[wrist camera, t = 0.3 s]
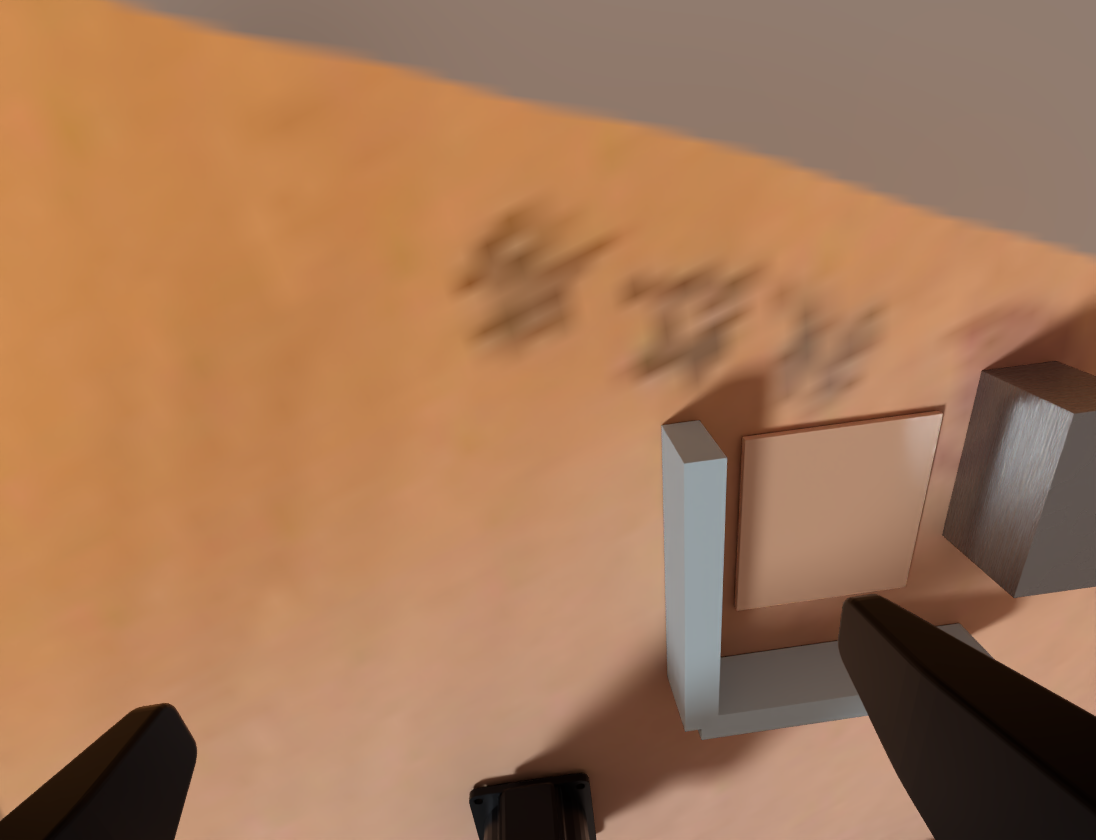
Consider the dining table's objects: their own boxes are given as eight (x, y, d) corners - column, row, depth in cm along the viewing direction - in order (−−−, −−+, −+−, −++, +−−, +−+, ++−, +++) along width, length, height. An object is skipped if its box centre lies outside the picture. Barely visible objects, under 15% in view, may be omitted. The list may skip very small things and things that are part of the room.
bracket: (1092, 514, 26) (1187, 573, 22) (942, 535, 26) (1013, 597, 22) (1154, 348, 23) (1278, 386, 19) (981, 370, 22) (1074, 413, 19)
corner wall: (953, 645, 29) (1000, 696, 26) (667, 686, 29) (685, 742, 26) (1029, 376, 23) (1100, 407, 20) (661, 425, 22) (684, 463, 20)
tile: (901, 582, 27) (905, 587, 27) (734, 606, 27) (736, 610, 26) (937, 410, 23) (943, 413, 23) (742, 436, 23) (745, 440, 23)
